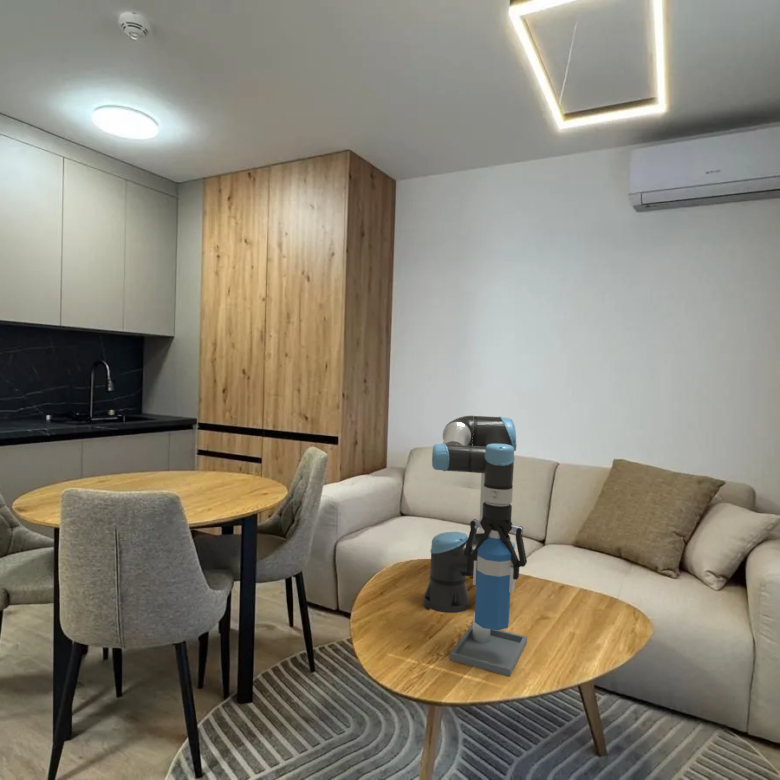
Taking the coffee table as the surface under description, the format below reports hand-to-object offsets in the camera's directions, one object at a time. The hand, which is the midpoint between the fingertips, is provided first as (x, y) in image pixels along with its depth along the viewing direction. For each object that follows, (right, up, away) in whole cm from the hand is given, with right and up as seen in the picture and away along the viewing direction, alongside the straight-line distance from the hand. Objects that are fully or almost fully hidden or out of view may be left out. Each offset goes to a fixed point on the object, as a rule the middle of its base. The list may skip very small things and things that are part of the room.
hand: (493, 586), depth 148 cm
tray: (0, -20, +4) cm, 20 cm away
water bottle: (0, -10, 0) cm, 10 cm away
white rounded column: (-2, -18, +11) cm, 21 cm away
